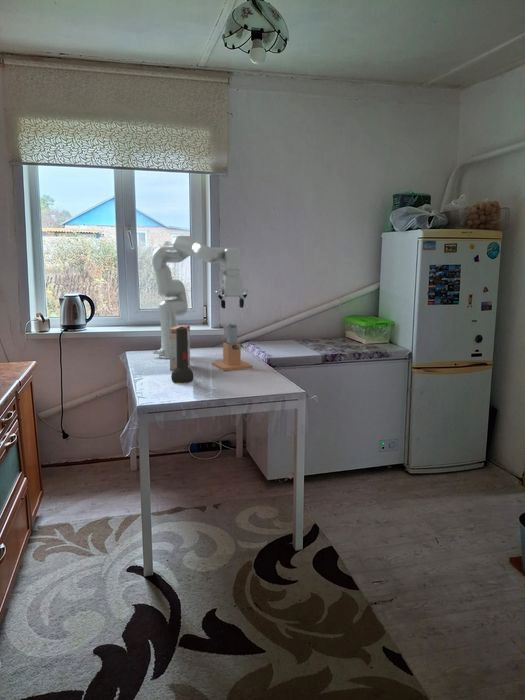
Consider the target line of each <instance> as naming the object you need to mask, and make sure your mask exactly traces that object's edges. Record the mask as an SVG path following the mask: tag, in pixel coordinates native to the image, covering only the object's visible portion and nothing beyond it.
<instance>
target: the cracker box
mask: <svg viewBox="0 0 525 700" xmlns="http://www.w3.org/2000/svg"><path fill="white" fill-rule="evenodd" d="M181 326H183V327H185V328H187V339H188V367H189V366H190V365H191V362H190V361H191V359H190V358H191V355H190V354H191V351H190V350H191V347H190V346H191V339H190V338H191V326H190V325H188V324H187V325H186V324H184V325H183V324H181V325H180V324H178V326H176V327H173V328H170V359H169V370H170V371H173V370H174V369H175V368H176V367H177V352H176V329H177V328H179V327H181Z"/></svg>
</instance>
